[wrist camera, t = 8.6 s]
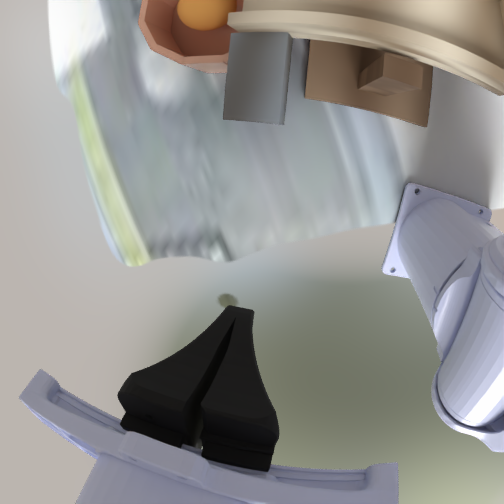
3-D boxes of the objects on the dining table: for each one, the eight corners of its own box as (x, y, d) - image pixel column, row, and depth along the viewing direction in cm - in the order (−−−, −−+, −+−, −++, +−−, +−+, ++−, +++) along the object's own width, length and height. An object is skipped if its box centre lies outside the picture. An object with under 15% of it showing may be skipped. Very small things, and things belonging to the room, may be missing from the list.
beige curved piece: (490, 16, 6) (524, -9, 1) (482, 177, 12) (524, 202, 7) (263, -33, 10) (228, -71, 5) (247, 119, 16) (203, 120, 11)
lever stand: (425, -11, 9) (463, -45, 3) (421, 126, 16) (474, 136, 9) (315, -40, 10) (314, -92, 4) (304, 98, 17) (303, 86, 10)
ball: (244, -24, 10) (180, -27, 9) (238, 22, 12) (171, 21, 11) (235, -4, 13) (182, -5, 12) (230, 37, 15) (176, 36, 14)
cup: (301, -29, 11) (298, -57, 7) (292, 77, 16) (288, 65, 12) (178, -23, 12) (152, -42, 9) (164, 75, 17) (132, 70, 13)
